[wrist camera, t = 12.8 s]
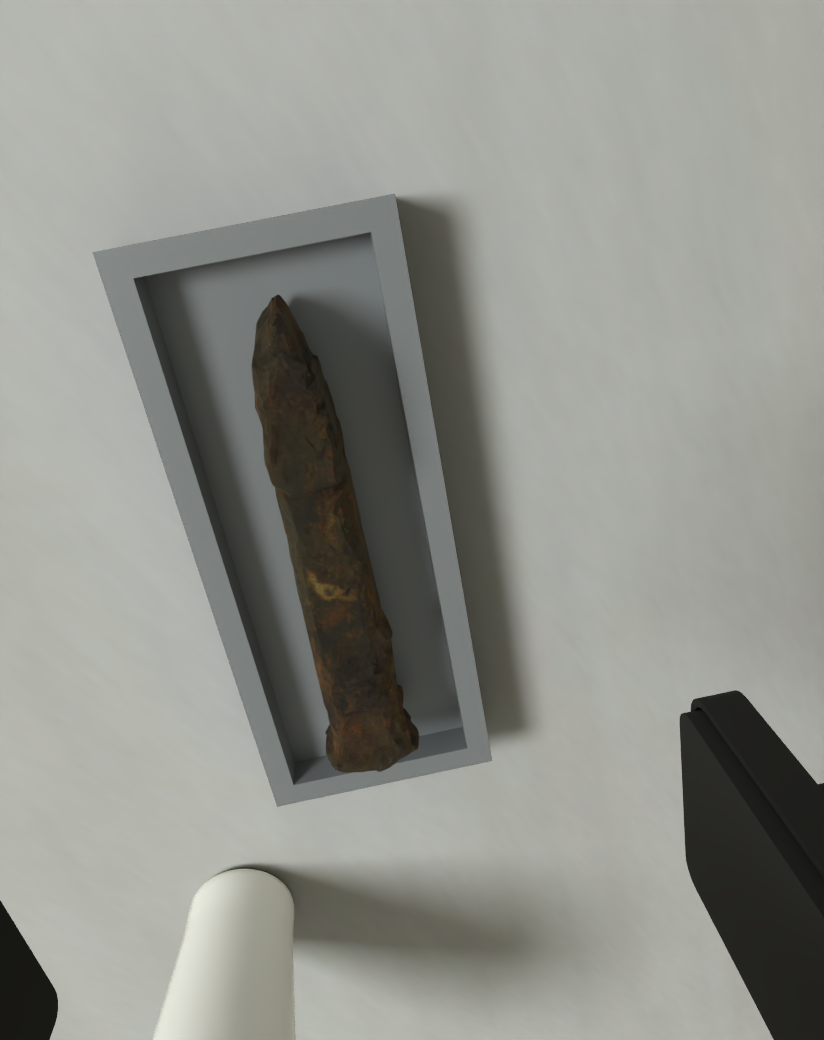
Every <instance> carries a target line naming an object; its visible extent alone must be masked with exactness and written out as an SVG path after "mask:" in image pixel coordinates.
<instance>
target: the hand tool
mask: <svg viewBox="0 0 824 1040" xmlns="http://www.w3.org/2000/svg"><path fill="white" fill-rule="evenodd" d="M251 368H252V379H253V386H254V392H255V409H256V411H257V414H258V416H259V419H260V422H261V425H262V428H263V445H264V461H265V466H266V468H267V471H268V474H269V478H270V481H271V483H272V485H273V486H275V492H276V498H277V502H278V506H279V509H280V513H281V517H282V521H283V525H284V530H285V533H286V536H287V540H288V546H289V553H290V558H291V562H292V565H293V570H294V576H295V582H296V587H297V592H298V596H299V599H300V603H301V607H302V612H303V617H304V621H305V625H306V629H307V633H308V637H309V642H310V646H311V650H312V654H313V660H314V665H315V669H316V673H317V677H318V681H319V685H320V689H321V693H322V698H323V703H324V705H325V708H326V710H327V713H328V719H329V723H330V725H329V726H328V728H327V730H326V732H325V734H326V735H327V737H326V756H327V758H328V760H329V761H330V762H331V765H332V767H333V768H335V770H338V771H340V772H342V773H352V772H366V771H378V772H381V771H383V770H386V769H388V768H390V767H391V766H393V765H394V764H395V763H396V762H397V761H399V760H400V759H402V758H404V757H406V756H407V755H409V754H410V753H412V752H414V751H415V750H417V749H418V746H419V732H418V729H417V727H416V726H415V725H414V724H413V723H412V722H411V716H410V715H409V713H408V712H407V711H406V709H405V708H403V689H402V686H400V685H398V684H397V682H396V672H395V667H394V654H393V649H392V642H391V638H392V633H393V632H392V629H391V627H390V624H389V622H388V620H387V618H386V616H385V614H384V612H383V611H382V609H381V606H380V599H379V594H378V591H377V588H376V583H375V578H374V575H373V570H372V566H371V562H370V558H369V553H368V549H367V545H366V541H365V536H364V532H363V529H362V524H361V517H360V513H359V508H358V504H357V499H356V494H355V490H354V486H353V482H352V477H351V471H350V468H349V465H348V462H347V458H346V455H345V448H344V440H343V434H342V429H341V425H340V420H339V419H338V417H337V415H336V411H335V406H334V402H333V399H332V396H331V393H330V390H329V387H328V383H327V381H325V378H324V376H323V372H322V368H321V364H320V361H319V359H318V356H317V355H313V353H312V352H311V351H310V349H309V346H308V344H307V342H306V339H305V337H304V333H303V332H302V331H301V329H300V327H299V326H298V324H297V322H296V320H295V318H294V316H293V314H292V312H291V310H290V308H289V306H288V305H287V304H286V302H285V301H284V300H283V298H282V297H281V296H280V295H276V296H275V297H272V298H271V300H270V302H269V304H268V306H267V307H266V308H265V309H264V310H263V311H262V313H261V315H260V317H259V319H258V321H257V323H256V334H255V345H254V352H253V358H252V364H251Z"/></svg>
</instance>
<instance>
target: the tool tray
mask: <svg viewBox="0 0 824 1040" xmlns="http://www.w3.org/2000/svg"><path fill="white" fill-rule="evenodd" d="M93 255H94V258H95V261H96V264H97V267H98V270H99V273H100V276H101V279H102V282H103V285H104V288H105V291H106V294H107V297H108V300H109V303H110V306H111V309H112V312H113V315H114V318H115V321H116V324H117V327H118V330H119V333H120V336H121V339H122V342H123V345H124V348H125V351H126V354H127V357H128V360H129V363H130V366H131V369H132V372H133V375H134V378H135V381H136V384H137V387H138V390H139V393H140V396H141V399H142V402H143V405H144V408H145V411H146V414H147V417H148V420H149V423H150V426H151V429H152V432H153V435H154V438H155V441H156V444H157V447H158V450H159V453H160V456H161V459H162V462H163V465H164V468H165V471H166V474H167V477H168V480H169V483H170V486H171V489H172V492H173V495H174V498H175V501H176V504H177V507H178V510H179V513H180V516H181V519H182V522H183V525H184V528H185V531H186V534H187V537H188V540H189V543H190V546H191V549H192V552H193V555H194V558H195V561H196V564H197V567H198V570H199V573H200V576H201V579H202V582H203V585H204V588H205V591H206V594H207V597H208V600H209V603H210V606H211V609H212V612H213V615H214V618H215V621H216V624H217V627H218V630H219V633H220V636H221V639H222V642H223V645H224V648H225V651H226V654H227V657H228V660H229V663H230V666H231V669H232V672H233V675H234V678H235V681H236V684H237V687H238V690H239V693H240V696H241V699H242V702H243V705H244V708H245V711H246V714H247V717H248V720H249V723H250V726H251V729H252V732H253V735H254V738H255V741H256V744H257V747H258V750H259V753H260V756H261V759H262V762H263V765H264V768H265V771H266V774H267V777H268V780H269V783H270V786H271V789H272V792H273V795H274V798H275V801H276V804H277V806H282V805H287V804H292V803H296V802H301V801H306V800H310V799H315V798H320V797H324V796H329V795H334V794H339V793H343V792H348V791H353V790H357V789H362V788H367V787H371V786H376V785H381V784H386V783H390V782H395V781H400V780H404V779H409V778H414V777H418V776H423V775H428V774H433V773H437V772H442V771H447V770H451V769H456V768H461V767H465V766H470V765H475V764H480V763H484V762H489V761H492V757H491V751H490V745H489V740H488V734H487V728H486V722H485V716H484V710H483V704H482V699H481V693H480V687H479V681H478V675H477V669H476V664H475V658H474V652H473V646H472V640H471V634H470V629H469V623H468V617H467V611H466V605H465V599H464V594H463V588H462V582H461V576H460V570H459V564H458V559H457V553H456V547H455V541H454V535H453V529H452V524H451V518H450V512H449V506H448V500H447V494H446V489H445V483H444V477H443V471H442V465H441V459H440V454H439V448H438V442H437V436H436V430H435V424H434V419H433V413H432V407H431V401H430V395H429V389H428V383H427V378H426V372H425V366H424V360H423V354H422V348H421V343H420V337H419V331H418V325H417V319H416V313H415V308H414V302H413V296H412V290H411V284H410V278H409V273H408V267H407V261H406V255H405V249H404V243H403V238H402V232H401V226H400V220H399V214H398V208H397V203H396V197H395V194H391V195H386V196H381V197H376V198H370V199H365V200H360V201H355V202H350V203H345V204H340V205H334V206H329V207H324V208H319V209H314V210H309V211H303V212H298V213H293V214H288V215H283V216H278V217H273V218H267V219H262V220H257V221H252V222H247V223H242V224H236V225H231V226H226V227H221V228H216V229H211V230H206V231H200V232H195V233H190V234H185V235H180V236H175V237H169V238H164V239H159V240H154V241H149V242H144V243H139V244H133V245H128V246H123V247H118V248H113V249H108V250H102V251H97V252H93ZM276 295H280V296H281V297H282V298H283V300H284V301H285V302H286V304H287V305H288V306H289V308H290V310H291V312H292V314H293V316H294V318H295V320H296V322H297V324H298V326H299V327H300V329H301V331H302V332H303V333H304V337H305V339H306V342H307V344H308V346H309V349H310V351H311V352H312V353H313V355H317V356H318V359H319V361H320V364H321V368H322V372H323V376H324V378H325V381H327V383H328V387H329V390H330V393H331V396H332V399H333V402H334V406H335V411H336V415H337V417H338V419H339V420H340V425H341V429H342V434H343V440H344V448H345V455H346V458H347V462H348V465H349V468H350V471H351V477H352V482H353V486H354V490H355V494H356V499H357V504H358V508H359V513H360V517H361V524H362V529H363V532H364V536H365V541H366V545H367V549H368V553H369V558H370V562H371V566H372V570H373V575H374V578H375V583H376V588H377V591H378V594H379V599H380V606H381V609H382V611H383V612H384V614H385V616H386V618H387V620H388V622H389V624H390V627H391V629H392V632H393V633H392V638H391V642H392V649H393V654H394V667H395V672H396V682H397V684H398V685H400V686H402V689H403V708H405V709H406V711H407V712H408V713H409V715H410V716H411V722H412V723H413V724H414V725H415V726H416V727H417V729H418V732H419V746H418V749H417V750H415V751H414V752H412V753H410V754H409V755H407V756H406V757H404V758H402V759H400V760H399V761H397V762H396V763H395V764H394V765H393V766H391V767H390V768H388V769H386V770H383V771H381V772H378V771H366V772H352V773H342V772H340V771H338V770H335V768H333V767H332V765H331V762H330V761H329V760H328V758H327V756H326V737H327V735H326V734H325V732H326V730H327V728H328V726H329V725H330V723H329V719H328V713H327V710H326V708H325V705H324V703H323V698H322V693H321V689H320V685H319V681H318V677H317V673H316V669H315V665H314V660H313V654H312V650H311V646H310V642H309V637H308V633H307V629H306V625H305V621H304V617H303V612H302V607H301V603H300V599H299V596H298V592H297V587H296V582H295V576H294V570H293V565H292V562H291V558H290V553H289V546H288V540H287V536H286V533H285V530H284V525H283V521H282V517H281V513H280V509H279V506H278V502H277V498H276V492H275V486H273V485H272V483H271V481H270V478H269V474H268V471H267V468H266V466H265V461H264V445H263V428H262V425H261V422H260V419H259V416H258V414H257V411H256V409H255V392H254V386H253V379H252V368H251V364H252V358H253V352H254V345H255V334H256V323H257V321H258V319H259V317H260V315H261V313H262V311H263V310H264V309H265V308H266V307H267V306H268V304H269V302H270V300H271V298H272V297H275V296H276Z"/></svg>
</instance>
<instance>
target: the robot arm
mask: <svg viewBox="0 0 824 1040" xmlns="http://www.w3.org/2000/svg"><path fill="white" fill-rule="evenodd" d="M680 739H681V761H682V783H683V806H684V828H685V850H686V861H687V866H688V869H689V873H690V876H691V879H692V881H693V884H694V886H695V888H696V890H697V892H698V894H699V896H700V898H701V900H702V902H703V903H704V905H705V907H706V909H707V911H708V913H709V915H710V917H711V919H712V921H713V923H714V925H715V927H716V929H717V931H718V932H719V934H720V936H721V938H722V940H723V942H724V944H725V946H726V948H727V950H728V952H729V954H730V956H731V958H732V960H733V961H734V963H735V965H736V967H737V969H738V971H739V973H740V975H741V977H742V979H743V981H744V983H745V985H746V987H747V989H748V990H749V992H750V994H751V996H752V998H753V1000H754V1002H755V1004H756V1006H757V1008H758V1010H759V1012H760V1014H761V1016H762V1018H763V1020H764V1021H765V1023H766V1025H767V1027H768V1029H769V1031H770V1033H771V1035H772V1037H773V1039H774V1040H824V783H822V784H817V783H816V782H815V781H814V779H813V778H812V777H811V776H810V775H809V773H808V772H807V771H806V770H805V769H804V767H803V766H802V765H801V764H800V762H799V761H798V760H797V759H796V758H795V756H794V755H793V754H792V753H791V751H790V750H789V749H788V748H787V747H786V745H785V744H784V743H783V742H782V741H781V739H780V738H779V737H778V736H777V734H776V733H775V732H774V731H773V730H772V728H771V727H770V726H769V725H768V724H767V722H766V721H765V720H764V719H763V717H762V716H761V715H760V714H759V713H758V711H757V710H756V709H755V708H754V707H753V705H752V704H751V703H750V702H749V700H748V699H747V698H746V697H745V696H744V695H743V694H742V693H741V692H739V691H736V690H735V691H731V692H726V693H721V694H716V695H712V696H707V697H702V698H697V699H694V700H693V701H692V704H691V712H687V713H683V714H681V716H680ZM57 1012H58V999H57V993H56V991H55V989H54V987H53V985H52V984H51V982H50V980H49V979H48V977H47V976H46V974H45V972H44V971H43V969H42V967H41V966H40V964H39V963H38V961H37V959H36V958H35V956H34V954H33V953H32V951H31V950H30V948H29V946H28V945H27V943H26V941H25V940H24V938H23V937H22V935H21V933H20V932H19V930H18V928H17V927H16V925H15V924H14V922H13V920H12V919H11V917H10V915H9V914H8V912H7V911H6V909H5V907H4V906H3V904H2V902H1V901H0V1040H49V1039H50V1036H51V1034H52V1031H53V1028H54V1025H55V1022H56V1018H57Z"/></svg>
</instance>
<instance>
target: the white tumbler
mask: <svg viewBox="0 0 824 1040" xmlns="http://www.w3.org/2000/svg"><path fill="white" fill-rule="evenodd" d="M293 929H294V902H293V898H292V895H291V893H290V891H289V890H288V888H287V887H286V886H285V884H284V883H283V882H282V881H280V880H279V879H278V878H276V877H275V876H273V875H271V874H269V873H266V872H263V871H260V870H255V869H235V870H229V871H226V872H223V873H220V874H218V875H216V876H214V877H212V878H211V879H209V880H208V881H207V882H205V883H204V884H203V885H202V886H201V887H200V889H199V890H198V891H197V893H196V894H195V896H194V898H193V900H192V903H191V906H190V910H189V914H188V919H187V923H186V928H185V933H184V936H183V940H182V943H181V946H180V950H179V953H178V956H177V960H176V963H175V966H174V970H173V973H172V976H171V979H170V983H169V986H168V989H167V993H166V996H165V999H164V1002H163V1006H162V1009H161V1012H160V1015H159V1018H158V1022H157V1025H156V1028H155V1031H154V1035H153V1038H152V1040H296V1034H295V1002H294V965H293Z"/></svg>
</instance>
